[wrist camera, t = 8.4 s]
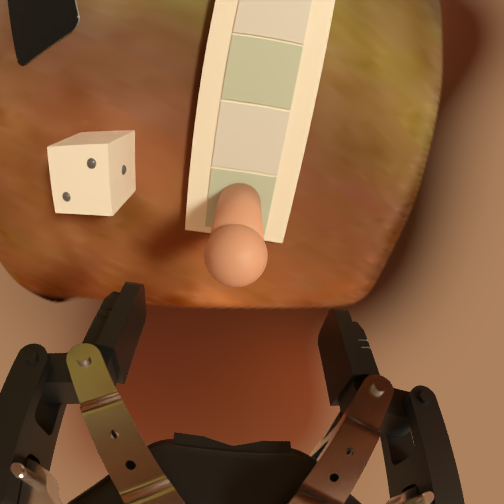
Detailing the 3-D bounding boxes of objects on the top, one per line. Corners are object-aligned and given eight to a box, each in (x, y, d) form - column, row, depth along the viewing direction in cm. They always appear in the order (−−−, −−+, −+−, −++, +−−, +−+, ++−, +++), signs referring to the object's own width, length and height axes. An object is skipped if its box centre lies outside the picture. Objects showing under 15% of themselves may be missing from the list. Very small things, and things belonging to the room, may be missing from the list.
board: (186, 225, 24) (184, 230, 24) (236, -74, 11) (235, -79, 10) (281, 238, 25) (282, 243, 24) (341, -54, 12) (344, -58, 11)
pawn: (214, 219, 23) (198, 295, 15) (219, 178, 21) (203, 239, 14) (257, 225, 23) (262, 303, 16) (265, 185, 22) (275, 249, 14)
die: (85, 190, 22) (54, 216, 18) (81, 132, 20) (45, 147, 15) (138, 192, 23) (114, 220, 18) (137, 130, 20) (109, 144, 16)
